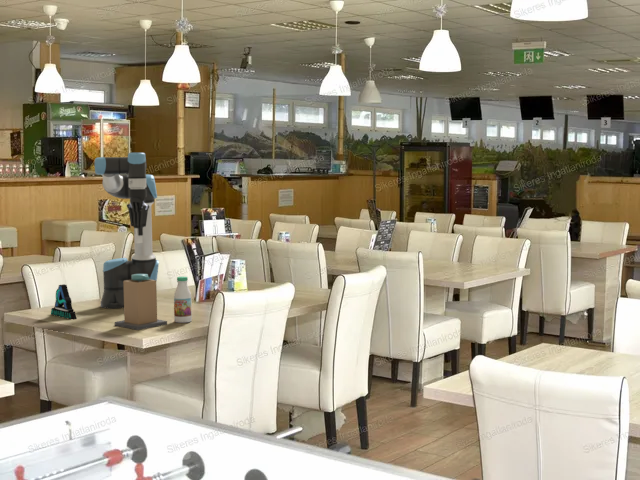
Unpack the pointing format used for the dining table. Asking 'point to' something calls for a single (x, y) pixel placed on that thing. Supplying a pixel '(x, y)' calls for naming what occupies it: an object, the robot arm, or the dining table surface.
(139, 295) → the brown pedestal box
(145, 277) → the pump plunger
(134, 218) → the robot arm
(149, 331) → the dining table surface
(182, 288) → the milk bottle
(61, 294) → the decorative sign
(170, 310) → the dining table surface
